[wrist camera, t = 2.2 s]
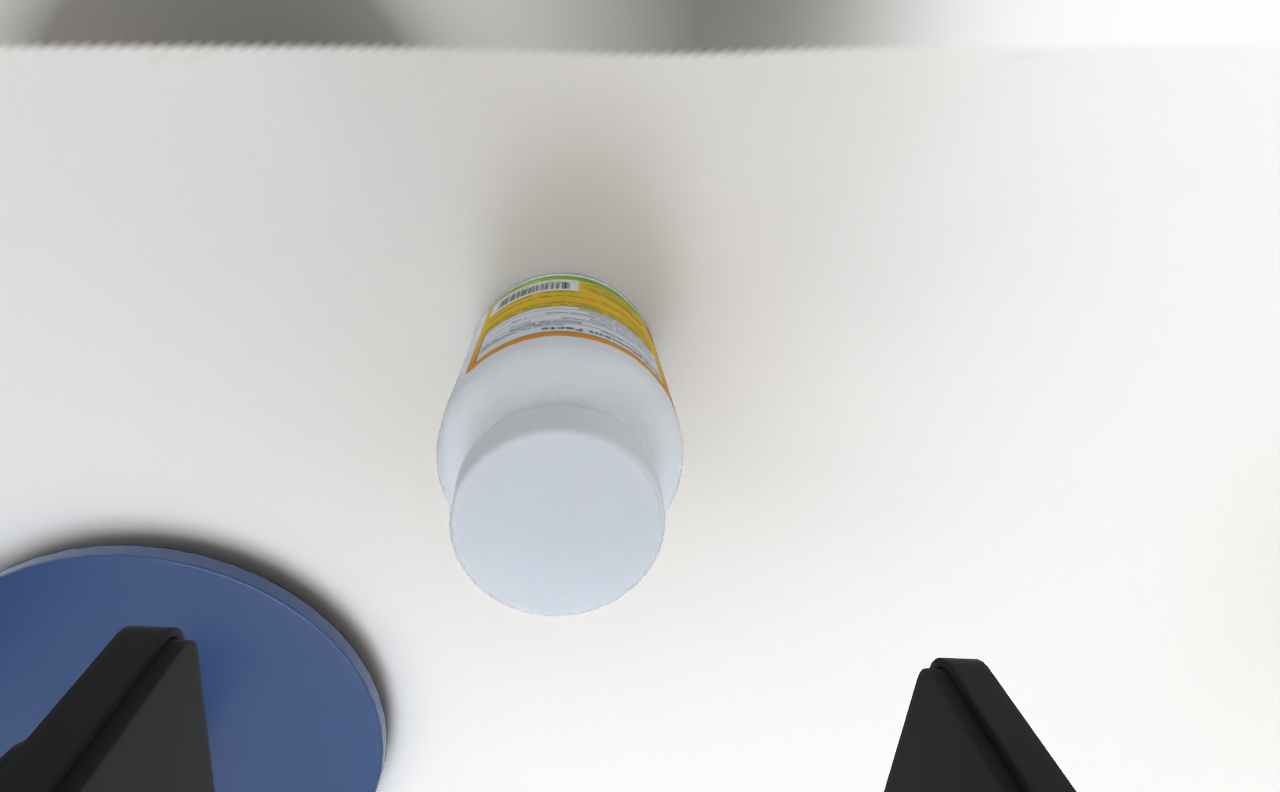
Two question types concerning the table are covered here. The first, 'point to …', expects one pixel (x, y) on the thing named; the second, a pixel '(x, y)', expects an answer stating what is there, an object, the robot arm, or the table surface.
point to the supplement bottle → (559, 448)
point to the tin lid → (229, 662)
